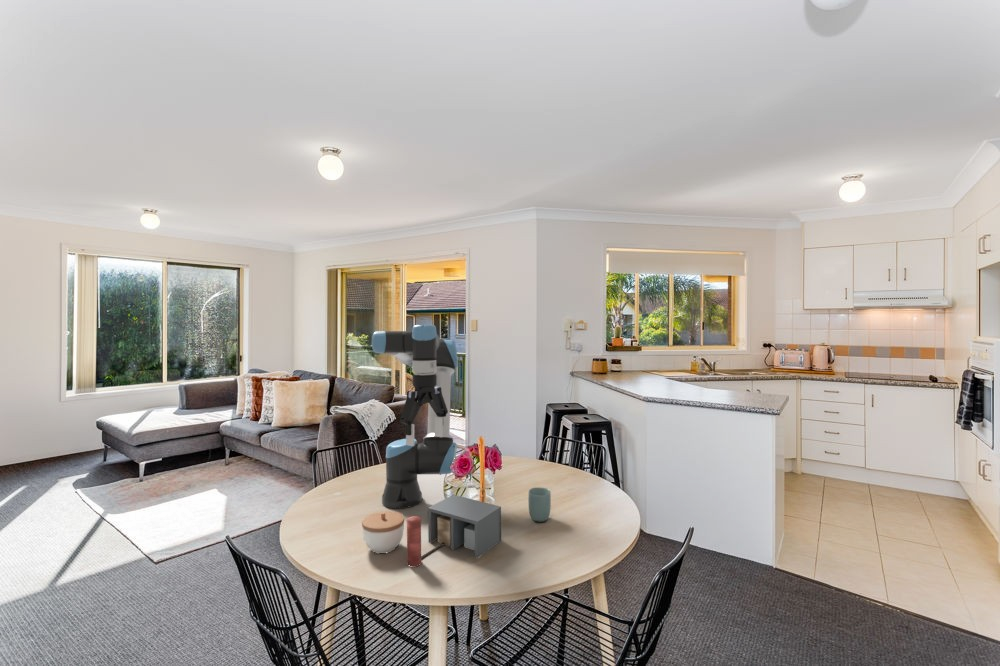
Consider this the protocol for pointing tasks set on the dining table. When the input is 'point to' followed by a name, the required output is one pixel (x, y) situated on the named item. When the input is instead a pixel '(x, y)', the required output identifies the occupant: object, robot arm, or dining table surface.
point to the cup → (539, 504)
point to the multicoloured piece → (415, 537)
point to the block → (469, 536)
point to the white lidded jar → (383, 530)
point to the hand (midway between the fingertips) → (425, 441)
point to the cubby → (467, 522)
